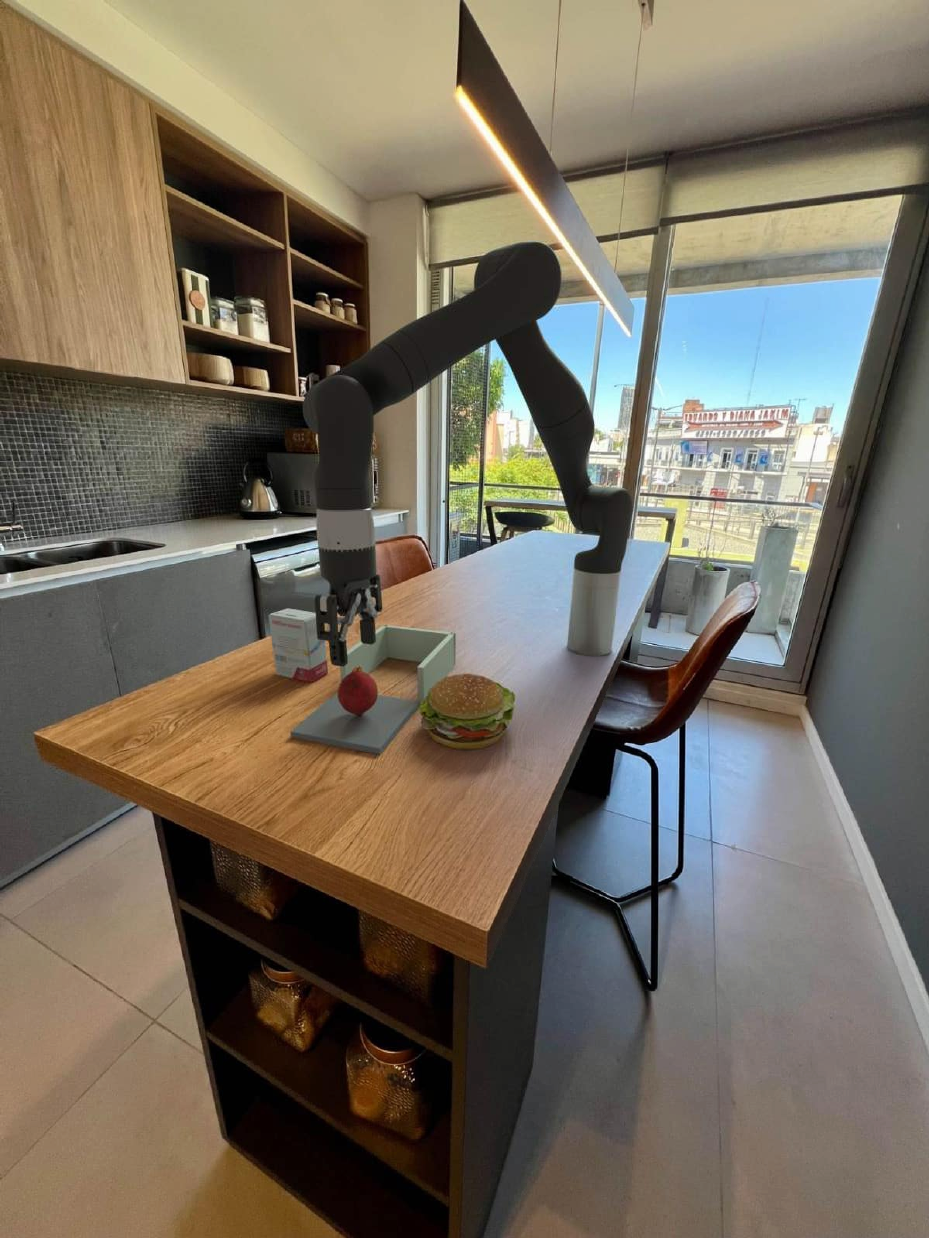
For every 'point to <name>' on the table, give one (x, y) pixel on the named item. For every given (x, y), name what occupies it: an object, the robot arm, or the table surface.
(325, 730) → the tile
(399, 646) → the cubby
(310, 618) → the ink box
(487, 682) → the food
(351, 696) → the onion
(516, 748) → the table surface
